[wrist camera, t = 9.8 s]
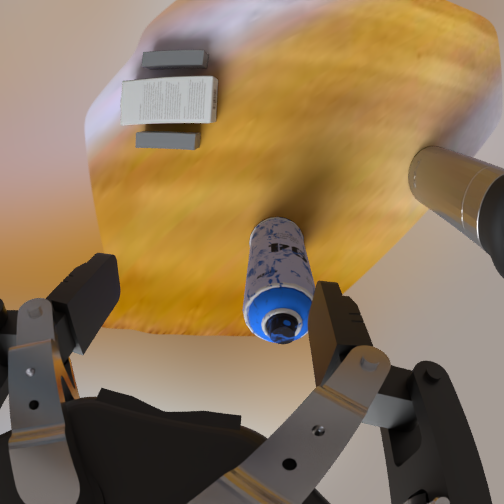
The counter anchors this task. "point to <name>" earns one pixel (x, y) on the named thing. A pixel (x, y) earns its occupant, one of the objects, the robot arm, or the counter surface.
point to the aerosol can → (278, 282)
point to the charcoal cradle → (171, 61)
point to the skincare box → (169, 100)
